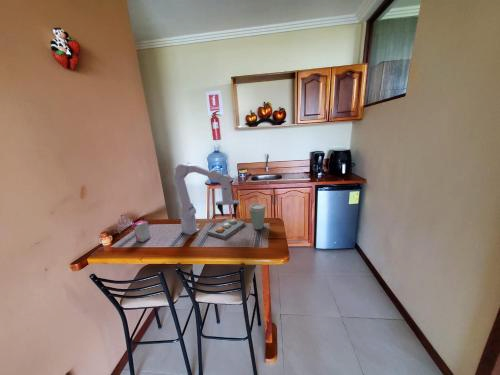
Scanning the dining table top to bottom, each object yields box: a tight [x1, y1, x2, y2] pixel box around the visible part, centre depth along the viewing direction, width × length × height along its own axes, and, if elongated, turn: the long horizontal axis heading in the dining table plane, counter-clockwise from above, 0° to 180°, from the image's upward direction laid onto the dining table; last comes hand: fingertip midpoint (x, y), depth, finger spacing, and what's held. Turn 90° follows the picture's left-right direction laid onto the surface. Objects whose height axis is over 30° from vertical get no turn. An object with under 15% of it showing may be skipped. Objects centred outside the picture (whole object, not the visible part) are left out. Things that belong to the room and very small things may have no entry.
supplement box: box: [132, 220, 151, 243], centre depth 119 cm, size 6×6×12 cm
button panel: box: [206, 218, 246, 240], centre depth 126 cm, size 14×21×2 cm, turn 148°
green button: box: [230, 218, 237, 225], centre depth 131 cm, size 4×4×2 cm
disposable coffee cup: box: [248, 203, 266, 230], centre depth 124 cm, size 11×11×15 cm
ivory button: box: [224, 223, 230, 229], centre depth 126 cm, size 4×4×2 cm
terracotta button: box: [217, 227, 223, 233], centre depth 120 cm, size 4×4×2 cm
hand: (228, 215), depth 122 cm, fingers open, 7 cm apart
